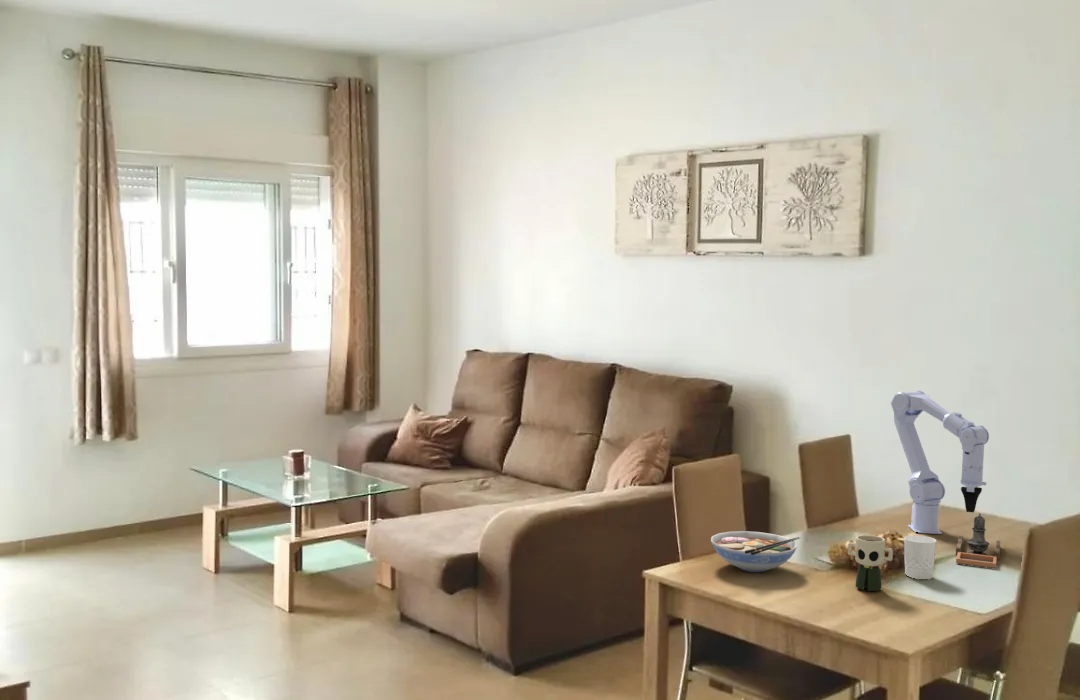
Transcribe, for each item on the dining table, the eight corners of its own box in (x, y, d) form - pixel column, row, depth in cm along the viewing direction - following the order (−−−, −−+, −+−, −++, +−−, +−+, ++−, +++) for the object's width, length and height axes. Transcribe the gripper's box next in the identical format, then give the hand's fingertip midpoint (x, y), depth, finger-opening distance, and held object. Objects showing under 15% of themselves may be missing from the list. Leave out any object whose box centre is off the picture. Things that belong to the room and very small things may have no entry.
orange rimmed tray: (959, 542, 304) (959, 536, 304) (1000, 547, 300) (1000, 540, 299) (955, 555, 290) (956, 548, 290) (998, 560, 285) (999, 553, 285)
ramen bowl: (743, 551, 289) (744, 523, 288) (815, 569, 273) (816, 539, 272) (689, 567, 271) (690, 537, 271) (763, 587, 255) (764, 555, 255)
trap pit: (957, 557, 288) (957, 551, 288) (996, 562, 284) (996, 556, 284) (955, 564, 281) (956, 558, 281) (995, 569, 276) (995, 563, 276)
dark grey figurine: (992, 557, 288) (994, 515, 287) (971, 557, 288) (973, 515, 287) (983, 552, 294) (985, 511, 293) (963, 551, 294) (965, 510, 293)
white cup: (897, 576, 268) (899, 538, 267) (910, 570, 274) (911, 533, 273) (927, 582, 262) (929, 544, 262) (939, 576, 268) (941, 539, 268)
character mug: (842, 589, 255) (845, 538, 254) (849, 582, 261) (851, 532, 260) (888, 596, 250) (890, 544, 249) (893, 589, 256) (895, 538, 255)
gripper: (986, 471, 295) (984, 518, 296) (987, 464, 308) (985, 508, 309) (960, 469, 298) (957, 515, 299) (962, 461, 311) (960, 505, 312)
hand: (970, 511), depth 304 cm, fingers closed
